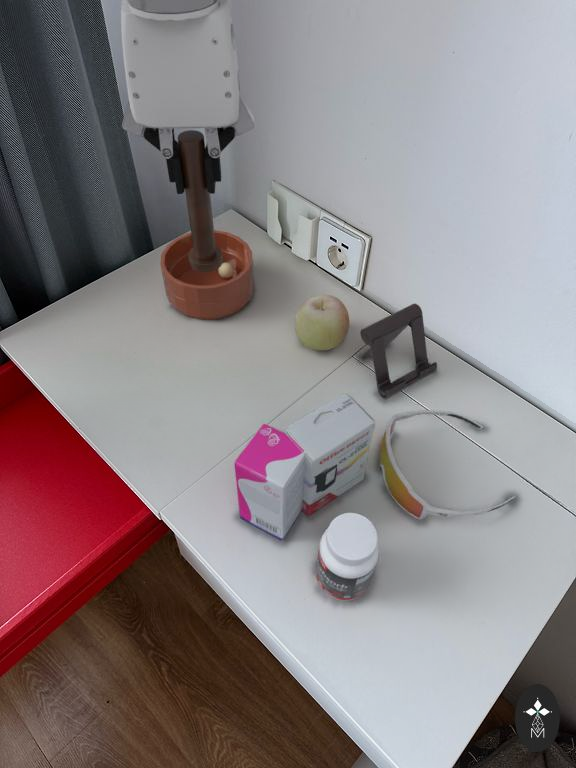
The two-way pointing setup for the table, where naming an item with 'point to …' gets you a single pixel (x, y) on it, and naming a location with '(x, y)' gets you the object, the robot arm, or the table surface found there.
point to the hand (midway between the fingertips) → (196, 185)
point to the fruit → (322, 322)
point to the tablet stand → (384, 335)
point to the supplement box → (270, 481)
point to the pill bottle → (347, 556)
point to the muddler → (198, 203)
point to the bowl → (208, 278)
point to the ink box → (332, 449)
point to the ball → (226, 270)
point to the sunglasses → (398, 483)
